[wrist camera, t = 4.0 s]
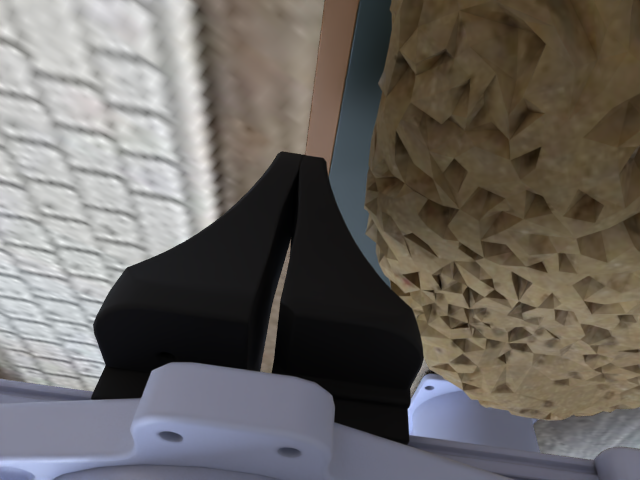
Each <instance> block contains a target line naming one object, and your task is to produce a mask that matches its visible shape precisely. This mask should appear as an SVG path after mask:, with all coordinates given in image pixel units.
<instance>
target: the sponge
mask: <svg viewBox="0 0 640 480" xmlns="http://www.w3.org/2000/svg"><path fill="white" fill-rule="evenodd" d="M389 10H390V11H391V13H392V31H391V37H390V43H389V49H388V53H387V58H386V62H385V67H384V71H383V74H382V76H381V78H380V80H379V82H378V84H379V86H380V88H381V90H382V95H381V100H380V105H379V109H378V114H377V118H376V122H375V126H374V130H373V134H372V138H371V146H370V155H369V164H368V165H369V170H368V173H367V184H366V195H365V204H364V209H366V210H367V211H368V213H369V218H368V224H367V230H366V233H365V234H366V235H367V236H368V237H369V238H371V239H372V240H373V241H374V242H376V255H377V259H378V262H379V265H380V267H381V269H382V271H383V273H384V275H385V276H386V277H388V278H389V280H390V285H391V289H392V290H393V291H394V292H395V293H396V294H397V295H398V296H399V297H400V298H401V299H402V300H403V301H404V302H405V303H407V304H408V305H409V306H410V307H411V308H412V309H413V312H414V315H415V318H416V321H417V324H418V328H419V331H420V335H421V340H422V345H423V356H424V359H425V361H426V363H427V365H428V367H429V369H430V370H432V371H433V372H435V373H437V374H439V375H441V376H442V377H443V378H444V379H445V380H447V381H449V382H450V383H452V384H453V385H455V386H457V387H458V388H460V389H461V390H463V391H464V392H465V393H466V394H467V395H468V397H469V398H470V399H471V400H478V401H479V403H480V405H482V406H483V407H485V408H489V407H491V408H495V409H501V410H507V411H509V412H510V413H511V415H515V416H521V417H527V418H533V419H542V420H547V421H548V420H550V421H552V420H564V419H566V418H568V417H570V416H572V415H575V416H593V415H595V414H598V413H601V412H603V411H604V412H610V413H611V412H612V411H614V410H615V409H635V408H638V407H640V0H391V6H390V9H389Z"/></svg>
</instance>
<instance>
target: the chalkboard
mask: <svg viewBox="0 0 640 480" xmlns="http://www.w3.org/2000/svg"><path fill="white" fill-rule="evenodd" d="M390 6H391V0H325V3H324V11H323V19H322V27H321V34H320V42H319V50H318V58H317V66H316V74H315V82H314V90H313V97H312V105H311V113H310V121H309V129H308V137H307V145H306V153H305V155H308V156H314V157H321V158H324V159H325V161H326V162H327V172H328V177H329V181H330V185H331V188H332V191H333V194H334V197H335V200H336V202H337V205H338V208H339V210H340V213H341V215H342V217H343V219H344V221H345V224H346V226H347V228H348V230H349V231H350V233H351V235H352V237H353V239H354V240H355V242H356V244H357V245H358V247H359V248H360V250H361V252H362V253H363V255H364V256H365V258H366V259H367V260H368V262H369V263H370V264H371V266H372V267H373V268H374V269H375V271H376V272H377V273H378V275H379V276H380V277H381V278H382V280H383V281H384V282H385V283H386V284H387V285H388V286H389V287H390V288H391V285H390V280H389V278H388V277H386V276H385V275H384V273H383V271H382V269H381V267H380V265H379V262H378V259H377V255H376V242H374V241H373V240H372V239H371V238H369V237H368V236H367V235H366V234H365V233H366V230H367V224H368V218H369V213H368V211H367V210H366V209H364V204H365V195H366V184H367V173H368V170H369V165H368V164H369V155H370V146H371V138H372V134H373V130H374V126H375V122H376V118H377V114H378V109H379V105H380V100H381V95H382V90H381V88H380V86H379V84H378V82H379V80H380V78H381V76H382V74H383V71H384V67H385V62H386V58H387V53H388V49H389V43H390V37H391V31H392V13H391V11H390V10H389V9H390Z"/></svg>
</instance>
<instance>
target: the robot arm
mask: <svg viewBox="0 0 640 480" xmlns="http://www.w3.org/2000/svg"><path fill="white" fill-rule="evenodd" d="M290 240H291V250H290V260H289V265H288V270H287V274H286V279H285V283H284V288H283V292H282V297H281V301H280V310H279V320H278V329H277V338H276V347H275V356H274V363H273V369H272V373H265V372H260V369H261V363H262V357H263V352H264V346H265V340H266V335H267V329H268V324H269V318H270V313H271V307H272V303H273V299H274V295H275V291H276V288H277V285H278V281H279V278H280V274H281V271H282V267H283V264H284V261H285V257H286V254H287V250H288V247H289V243H290ZM93 327H94V334H95V337H96V340H97V342H98V345H99V348H100V351H101V353H102V356H103V359H104V362H105V364H106V366H105V368H104V370H103V373H102V375H101V377H100V379H99V381H98V383H97V385H96V388H95V390H94V392H92V391H84V390H77V389H70V388H62V387H55V386H48V385H41V384H33V383H26V382H19V381H11V380H4V379H0V480H640V449H636V448H629V447H614V448H609V449H606V450H604V451H603V452H601V453H600V454H599V455H598V456H597V457H596V458H595V459H594V460H588V459H581V458H574V457H566V456H559V455H552V454H544V453H540V450H539V446H538V442H537V438H536V434H535V430H534V426H533V424H534V423H535V422H536V421H537V420H538V419H533V418H527V417H521V416H515V415H511V413H510V412H509V411H507V410H501V409H495V408H491V407H489V408H485V407H483V406H482V405H480V403H479V401H478V400H471V399H470V398H469V397H468V395H467V394H466V393H465V392H464V391H463V390H461V389H460V388H458V387H457V386H455V385H453V384H452V383H450V382H449V381H447V380H445V379H444V378H443V377H442V376H441V375H439V374H427V375H425V376H424V377H423V378H422V380H421V382H420V384H419V386H418V387H417V389H416V391H415V393H414V395H413V397H412V398H411V397H410V387H411V385H412V383H413V382H414V380H415V378H416V376H417V374H418V372H419V370H420V368H421V366H422V363H423V359H424V356H423V345H422V340H421V335H420V331H419V328H418V324H417V321H416V318H415V315H414V312H413V309H412V308H411V307H410V306H409V305H408V304H407V303H405V302H404V301H403V300H402V299H401V298H400V297H399V296H398V295H397V294H396V293H395V292H394V291H393V290H392V289H391V288H390V287H389V286H388V285H387V284H386V283H385V282H384V281H383V280H382V278H381V277H380V276H379V275H378V273H377V272H376V271H375V269H374V268H373V267H372V266H371V264H370V263H369V262H368V260H367V259H366V258H365V256H364V255H363V253H362V252H361V250H360V248H359V247H358V245H357V244H356V242H355V240H354V239H353V237H352V235H351V233H350V231H349V230H348V228H347V226H346V224H345V221H344V219H343V217H342V215H341V213H340V210H339V208H338V205H337V202H336V200H335V197H334V194H333V191H332V188H331V185H330V181H329V177H328V172H327V162H326V161H325V159H324V158H321V157H314V156H308V155H301V154H295V153H288V152H280V153H279V154H277V156H276V158H275V159H274V161H273V162H272V164H271V165H270V167H269V168H268V169H267V171H266V172H265V173H264V174H263V176H262V177H261V178H260V179H259V180H258V181H257V182H256V184H255V185H254V186H253V187H252V188H251V189H250V190H249V191H248V192H247V193H246V194H245V195H244V196H243V197H242V198H241V199H240V200H239V201H238V202H237V203H236V204H235V205H234V206H233V207H232V208H231V209H230V210H228V211H227V212H226V213H225V214H224V215H222V216H221V217H220V218H219V219H217V220H216V221H215V222H214V223H212V224H211V225H209V226H208V227H206V228H205V229H204V230H202V231H201V232H199V233H198V234H196V235H195V236H193V237H191V238H190V239H188V240H186V241H185V242H183V243H181V244H179V245H177V246H175V247H174V248H172V249H170V250H168V251H166V252H164V253H161V254H159V255H157V256H155V257H152V258H150V259H147V260H145V261H143V262H140V263H138V264H135V265H133V266H130V267H127V268H126V269H125V271H124V272H123V274H122V275H121V276H120V278H119V279H118V280H117V282H116V283H115V284H114V286H113V287H112V289H111V290H110V292H109V293H108V295H107V297H106V299H105V301H104V303H103V305H102V307H101V309H100V310H99V312H98V314H97V316H96V319H95V321H94V324H93Z"/></svg>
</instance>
